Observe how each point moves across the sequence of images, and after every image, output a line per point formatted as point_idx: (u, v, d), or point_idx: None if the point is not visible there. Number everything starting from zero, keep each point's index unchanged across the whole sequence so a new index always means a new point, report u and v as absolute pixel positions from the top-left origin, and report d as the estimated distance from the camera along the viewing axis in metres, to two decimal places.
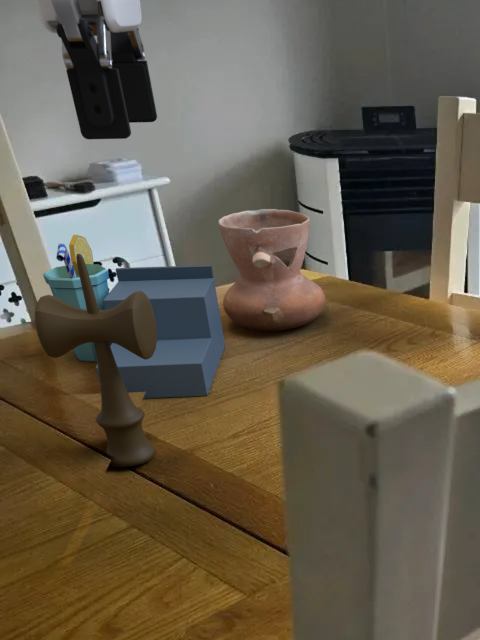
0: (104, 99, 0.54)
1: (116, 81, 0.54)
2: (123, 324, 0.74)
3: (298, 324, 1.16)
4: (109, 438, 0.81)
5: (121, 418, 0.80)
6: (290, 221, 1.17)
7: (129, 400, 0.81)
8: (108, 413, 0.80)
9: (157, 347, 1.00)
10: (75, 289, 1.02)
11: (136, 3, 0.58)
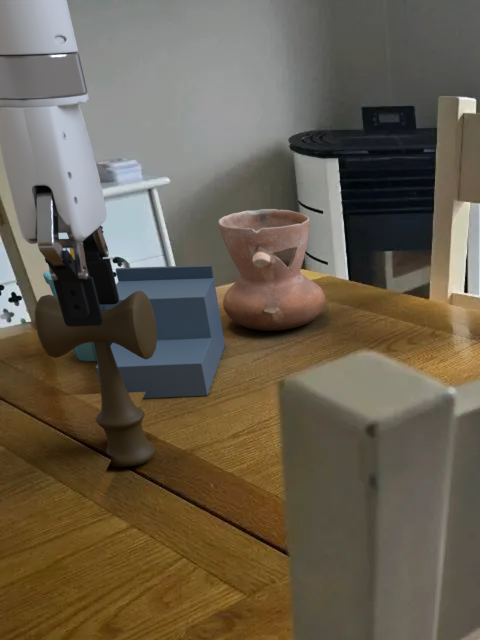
0: (82, 300, 0.71)
1: (91, 286, 0.71)
2: (123, 324, 0.74)
3: (298, 324, 1.16)
4: (109, 437, 0.81)
5: (120, 418, 0.80)
6: (290, 221, 1.17)
7: (129, 400, 0.81)
8: (108, 413, 0.80)
9: (157, 347, 1.00)
10: None
11: (101, 208, 0.73)
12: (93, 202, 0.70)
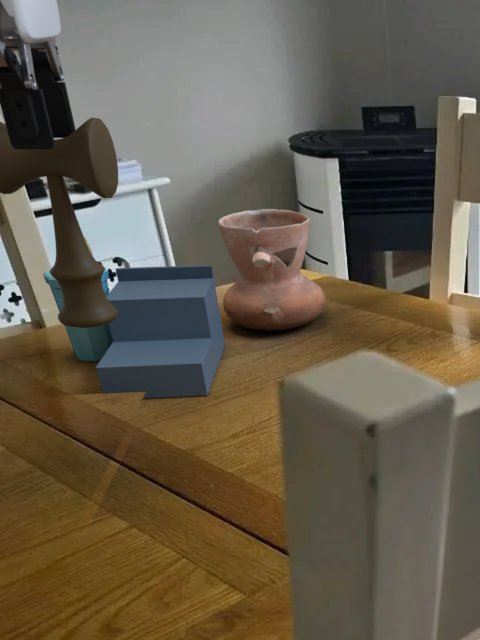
0: (29, 115, 0.63)
1: (40, 100, 0.63)
2: (78, 150, 0.66)
3: (298, 324, 1.16)
4: (64, 293, 0.74)
5: (77, 268, 0.72)
6: (290, 221, 1.17)
7: (87, 250, 0.73)
8: (63, 262, 0.72)
9: (157, 347, 1.00)
10: None
11: (53, 16, 0.65)
12: (44, 3, 0.63)
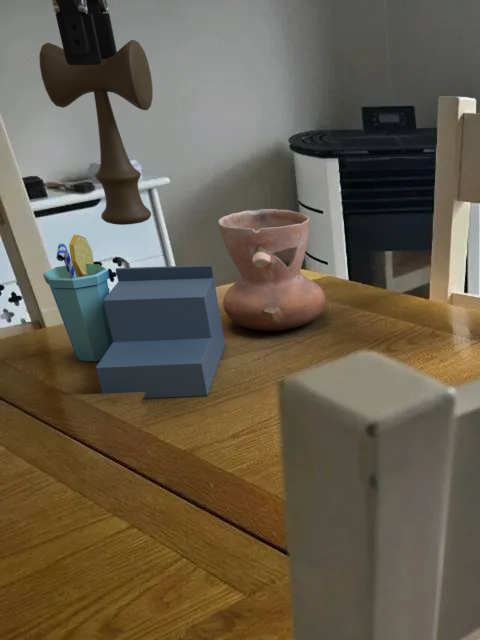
0: (82, 35, 0.77)
1: (90, 23, 0.77)
2: (120, 66, 0.80)
3: (298, 324, 1.16)
4: (107, 194, 0.88)
5: (118, 171, 0.86)
6: (290, 221, 1.17)
7: (126, 157, 0.87)
8: (106, 166, 0.86)
9: (157, 347, 1.00)
10: (75, 289, 1.02)
11: None
12: None
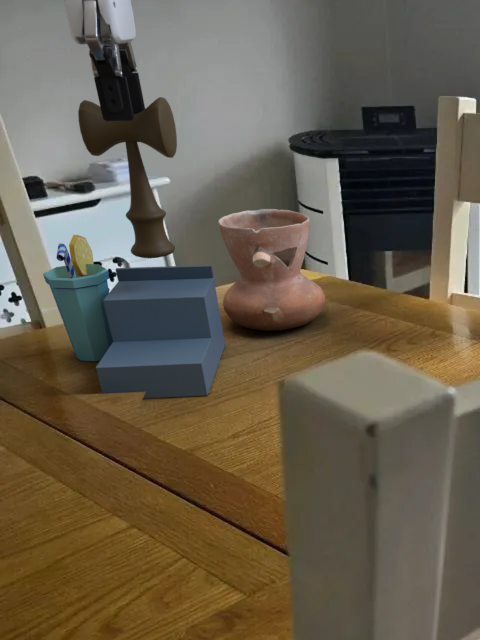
0: (117, 95, 0.88)
1: (125, 84, 0.88)
2: (150, 121, 0.90)
3: (298, 324, 1.16)
4: (136, 231, 0.98)
5: (146, 212, 0.97)
6: (290, 221, 1.17)
7: (153, 198, 0.97)
8: (136, 207, 0.96)
9: (157, 347, 1.00)
10: (75, 289, 1.02)
11: (132, 24, 0.89)
12: (127, 15, 0.87)
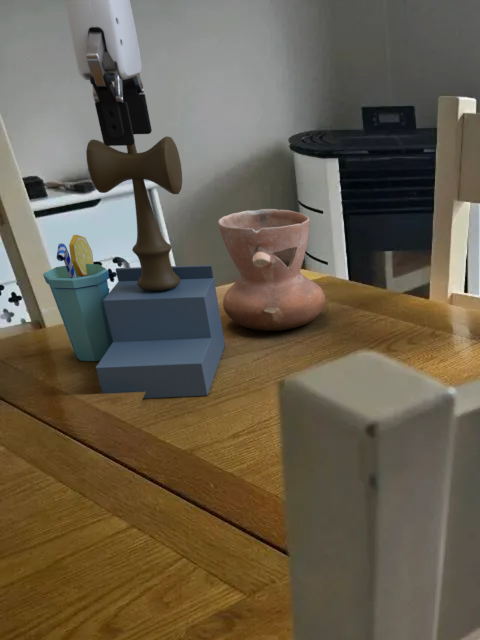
0: (118, 121, 0.88)
1: (125, 110, 0.88)
2: (157, 160, 0.93)
3: (298, 324, 1.16)
4: (143, 265, 1.00)
5: (153, 246, 0.99)
6: (290, 221, 1.17)
7: (159, 233, 0.99)
8: (142, 242, 0.99)
9: (157, 347, 1.00)
10: (75, 289, 1.02)
11: (138, 59, 0.91)
12: (133, 51, 0.89)
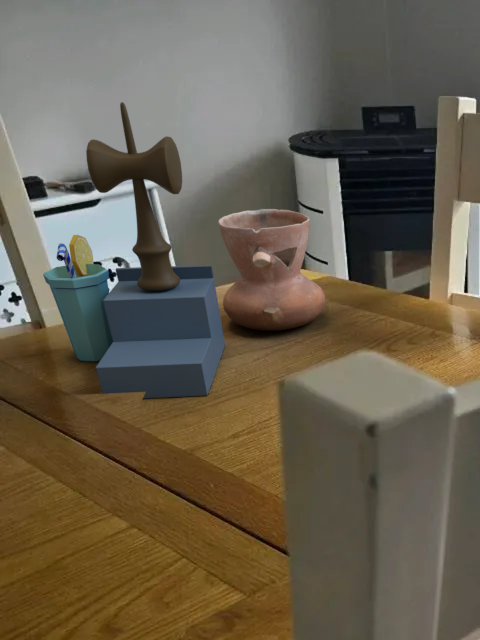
0: None
1: None
2: (157, 160, 0.93)
3: (298, 324, 1.16)
4: (143, 265, 1.00)
5: (153, 246, 0.99)
6: (290, 221, 1.17)
7: (159, 233, 0.99)
8: (142, 242, 0.99)
9: (157, 347, 1.00)
10: (75, 289, 1.02)
11: None
12: None
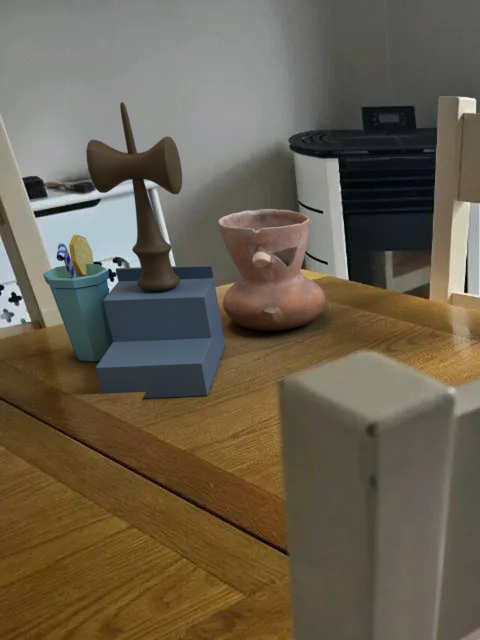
0: None
1: None
2: (157, 160, 0.93)
3: (298, 324, 1.16)
4: (143, 265, 1.00)
5: (153, 246, 0.99)
6: (290, 221, 1.17)
7: (159, 233, 0.99)
8: (142, 242, 0.99)
9: (157, 347, 1.00)
10: (75, 289, 1.02)
11: None
12: None
